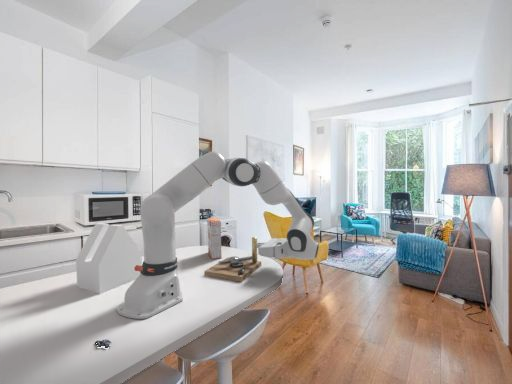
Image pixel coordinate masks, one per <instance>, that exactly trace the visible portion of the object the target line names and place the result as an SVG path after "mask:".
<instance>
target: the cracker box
mask: <svg viewBox="0 0 512 384" xmlns="http://www.w3.org/2000/svg"><path fill="white" fill-rule="evenodd" d="M206 219H207V247H208V249H207V251H208V253H209V256H210V259H211V260H216V259H221V258H222V226H221V225H222V224H221V223H222V222H221V220H220V219H219V218H218V217H207V218H206Z"/></svg>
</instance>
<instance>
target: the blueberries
mask: <svg viewBox="0 0 512 384" xmlns="http://www.w3.org/2000/svg"><path fill="white" fill-rule="evenodd" d="M94 343H95V344H96V343H97V344H96V345H98V346H97V347H101V346H105V348H108V347H109V345H110V343H111V344H112V341H111V340H109V339H102V340H96V341H95V342H94ZM95 344H94V345H95ZM96 345H95V346H96ZM97 347H96V348H97Z"/></svg>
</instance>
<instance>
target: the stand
mask: <svg viewBox="0 0 512 384" xmlns="http://www.w3.org/2000/svg"><path fill="white" fill-rule="evenodd" d="M230 257H231V256H230ZM230 257H226V258H224V259H223V260H222V261H224V260H230ZM242 262H243V266H240V267H232V266H230V263H229V264H223V265H219V262H218V263H216V264H214V265H212V266H211V267H209V268H207V269H206V270H203V271H204V272H203V274H204V276H207V277H213V278H218V279H224V280H231V281H236V282H240V283H241V282H242V283H243V281H245V280H246V279H247V278H248V277H249V276H250V275H252V274H253V273H254V272H256V270H258V269H259V268H260V267H261V266H262V261H260V260H257V262H252V260H247V261H242Z"/></svg>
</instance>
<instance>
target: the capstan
mask: <svg viewBox="0 0 512 384" xmlns="http://www.w3.org/2000/svg"><path fill="white" fill-rule="evenodd" d="M257 243H258V237H256V236H253V237H251V255H250V256H244V257H239V256H236V255H235V256H230V260H224V259H223V260H224V261H223V260H220V261H218V263H219V265H223V264H229V263H230V266H232V267H240V266H243V262H242V261H247V260H252V262H257V261H258V248H256V244H257Z"/></svg>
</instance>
